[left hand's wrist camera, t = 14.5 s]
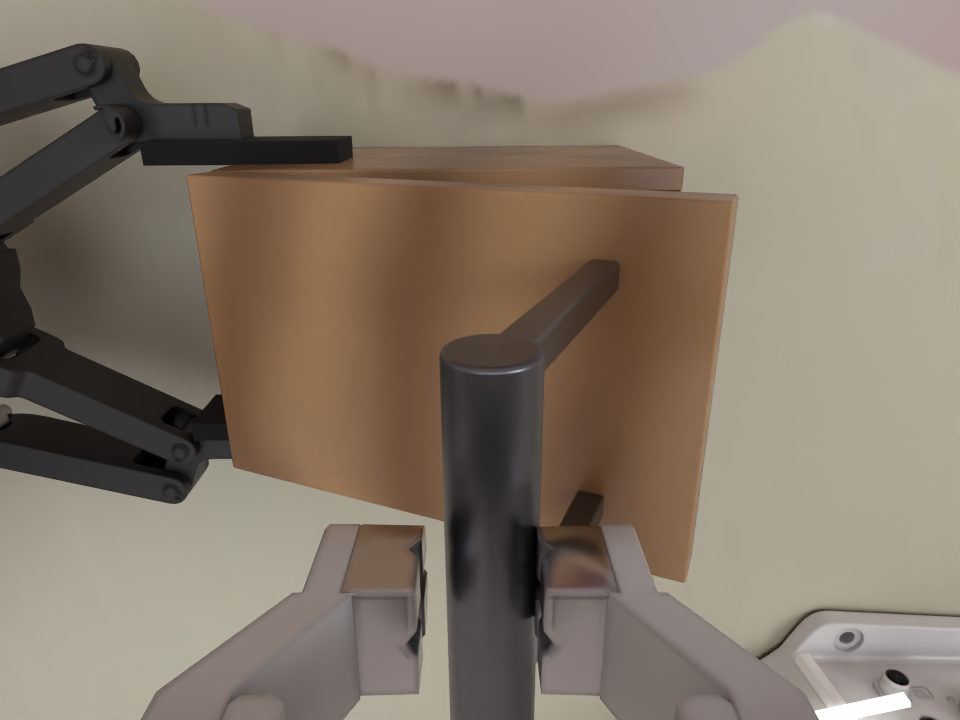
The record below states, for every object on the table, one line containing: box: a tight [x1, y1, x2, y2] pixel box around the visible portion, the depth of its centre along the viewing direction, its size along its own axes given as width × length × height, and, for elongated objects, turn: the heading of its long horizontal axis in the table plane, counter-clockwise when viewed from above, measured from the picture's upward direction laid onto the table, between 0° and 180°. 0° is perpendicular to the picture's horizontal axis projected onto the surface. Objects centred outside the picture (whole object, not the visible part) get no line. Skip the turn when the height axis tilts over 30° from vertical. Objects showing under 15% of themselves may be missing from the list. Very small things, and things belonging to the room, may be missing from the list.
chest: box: [211, 146, 684, 192], centre depth 27 cm, size 14×10×10 cm, turn 90°
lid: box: [187, 171, 739, 720], centre depth 15 cm, size 15×10×9 cm, turn 91°
